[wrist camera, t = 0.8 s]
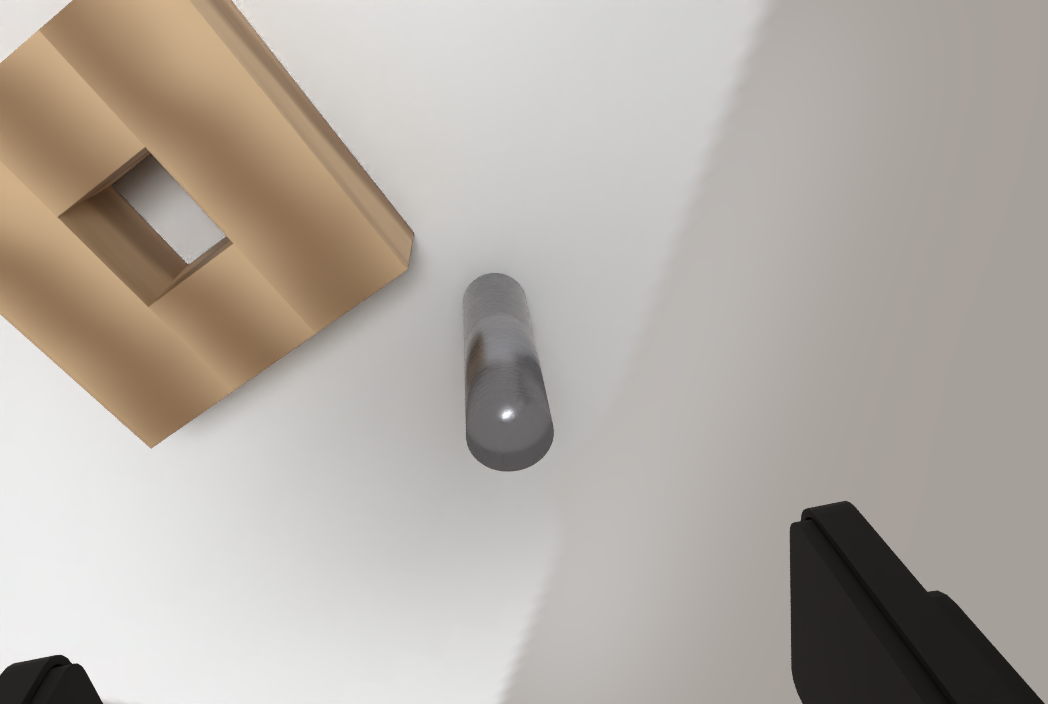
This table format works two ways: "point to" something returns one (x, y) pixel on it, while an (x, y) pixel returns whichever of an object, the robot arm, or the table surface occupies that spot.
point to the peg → (503, 377)
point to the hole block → (212, 182)
